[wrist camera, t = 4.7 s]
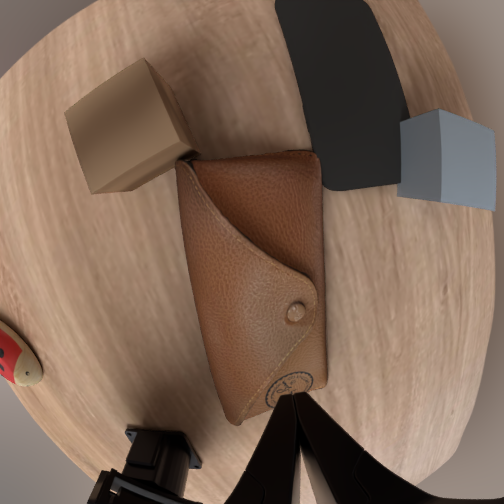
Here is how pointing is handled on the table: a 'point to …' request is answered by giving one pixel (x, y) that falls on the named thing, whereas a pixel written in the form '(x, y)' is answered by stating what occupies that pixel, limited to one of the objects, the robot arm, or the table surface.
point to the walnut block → (129, 130)
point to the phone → (346, 90)
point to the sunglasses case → (257, 274)
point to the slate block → (448, 160)
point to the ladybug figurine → (17, 359)
